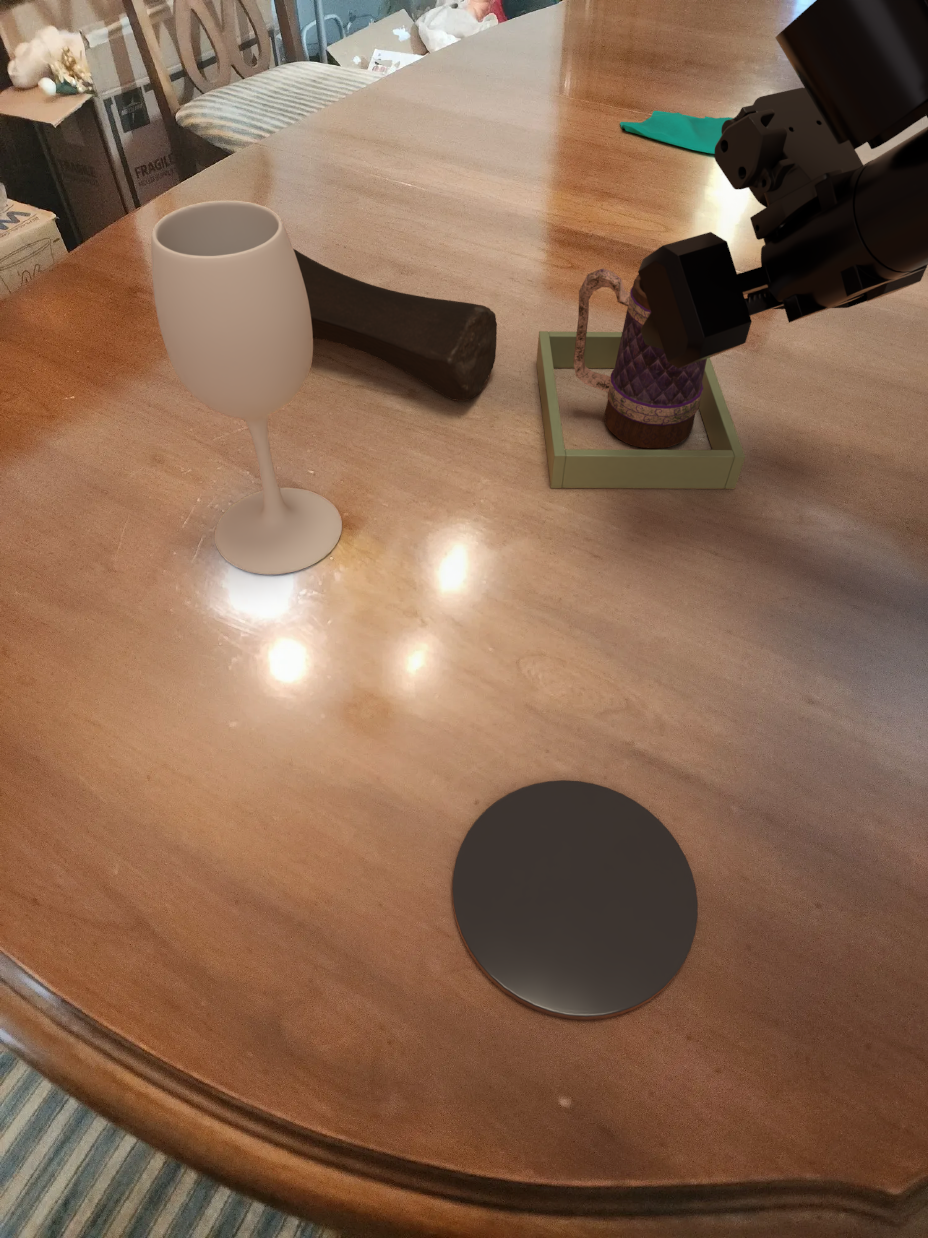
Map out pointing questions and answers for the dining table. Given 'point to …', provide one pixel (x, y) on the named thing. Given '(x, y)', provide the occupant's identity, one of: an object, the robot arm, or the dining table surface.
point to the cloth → (680, 130)
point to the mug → (639, 374)
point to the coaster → (574, 900)
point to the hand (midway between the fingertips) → (699, 317)
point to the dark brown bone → (404, 329)
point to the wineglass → (243, 361)
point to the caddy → (624, 464)
